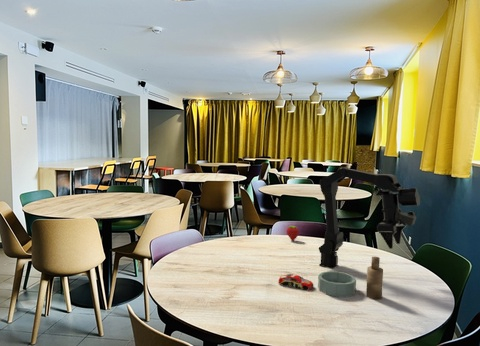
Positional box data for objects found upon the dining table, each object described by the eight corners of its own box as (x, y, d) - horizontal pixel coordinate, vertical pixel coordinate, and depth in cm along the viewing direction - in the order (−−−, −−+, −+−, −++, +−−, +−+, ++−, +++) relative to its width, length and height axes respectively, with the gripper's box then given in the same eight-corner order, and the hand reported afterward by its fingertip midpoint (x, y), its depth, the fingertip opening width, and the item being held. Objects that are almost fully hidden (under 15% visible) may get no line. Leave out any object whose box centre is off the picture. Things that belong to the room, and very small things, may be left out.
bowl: (313, 291, 130) (313, 279, 130) (325, 280, 141) (325, 269, 141) (349, 299, 124) (350, 287, 123) (358, 287, 135) (359, 275, 134)
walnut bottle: (364, 297, 126) (366, 258, 125) (367, 292, 130) (369, 254, 129) (380, 301, 123) (382, 260, 122) (383, 295, 127) (384, 257, 126)
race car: (315, 287, 135) (315, 277, 135) (311, 292, 130) (311, 281, 130) (282, 280, 141) (282, 270, 141) (277, 285, 136) (277, 275, 136)
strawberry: (294, 243, 196) (295, 225, 195) (283, 240, 201) (284, 222, 200) (301, 241, 200) (301, 223, 199) (290, 238, 205) (290, 221, 205)
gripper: (405, 208, 129) (409, 252, 128) (419, 203, 143) (423, 242, 143) (374, 209, 136) (378, 250, 136) (390, 203, 150) (394, 241, 150)
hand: (394, 246), depth 141 cm, fingers open, 9 cm apart
